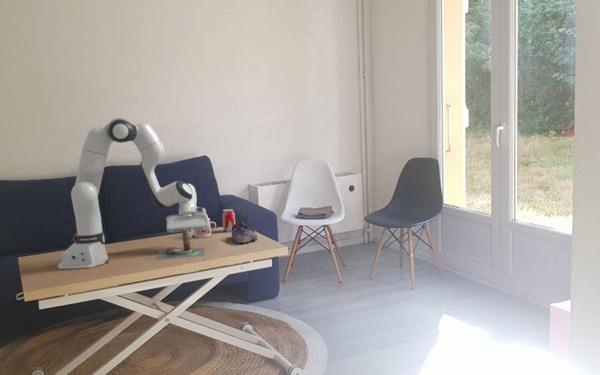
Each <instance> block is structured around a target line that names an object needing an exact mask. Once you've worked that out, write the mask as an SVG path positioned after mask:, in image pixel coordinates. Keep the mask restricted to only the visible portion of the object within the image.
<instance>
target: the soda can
mask: <svg viewBox="0 0 600 375" xmlns="http://www.w3.org/2000/svg"><path fill="white" fill-rule="evenodd" d="M221 220H222V230H223V231H224V232H226V233H232V227H231V226H233V225H234V224H236V214H235V211H234V208H228V209H227V208H226V209H223V210H222V213H221Z"/></svg>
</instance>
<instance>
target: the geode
mask: <svg viewBox="0 0 600 375" xmlns="http://www.w3.org/2000/svg"><path fill="white" fill-rule="evenodd" d="M231 227H232V232H231V239H232V240H233V241H235V243H238V244H242V245H245V244H247V243H251V242H253V241H257V240H258V234H257V229H255V227H253V226H249V225H247V224H245V223H244V222H243V221H242V220H241V221H240V222H237V221H235V224H234V225H233V226H231Z"/></svg>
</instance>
